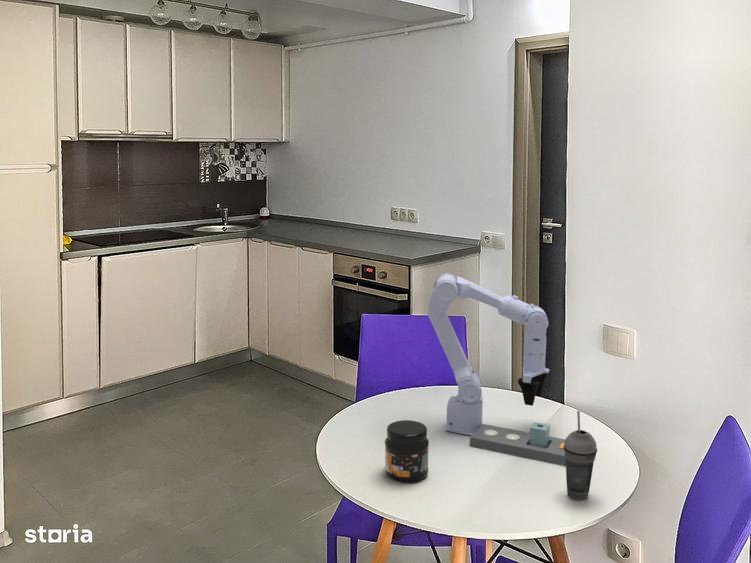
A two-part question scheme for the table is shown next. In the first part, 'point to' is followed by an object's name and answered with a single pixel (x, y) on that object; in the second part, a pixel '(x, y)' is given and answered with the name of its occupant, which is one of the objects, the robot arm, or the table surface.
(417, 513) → the table surface
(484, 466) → the table surface
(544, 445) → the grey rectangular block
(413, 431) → the supplement container
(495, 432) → the control panel
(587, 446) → the beverage cup
